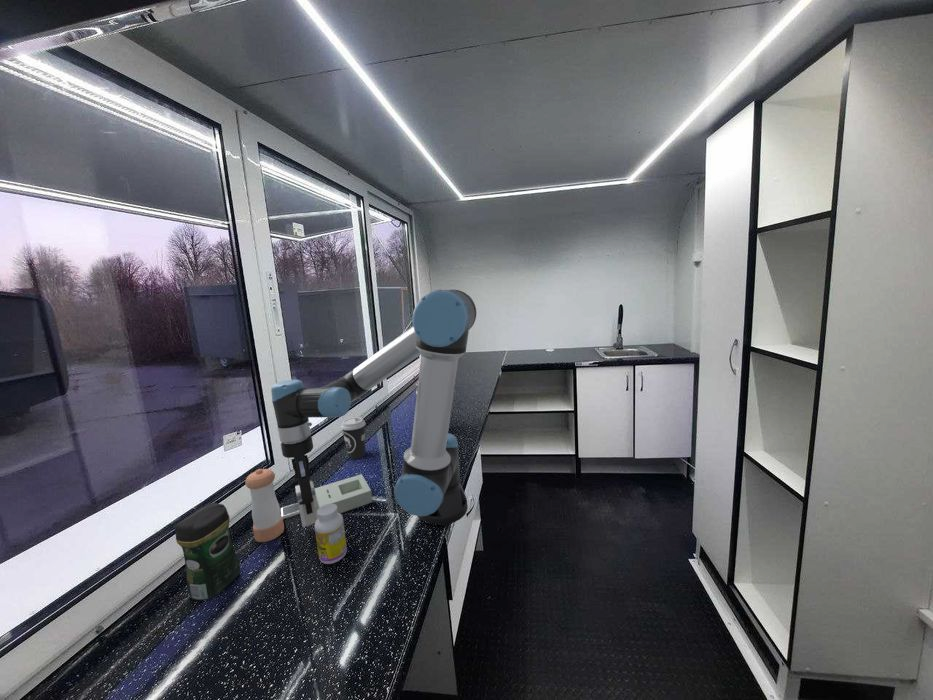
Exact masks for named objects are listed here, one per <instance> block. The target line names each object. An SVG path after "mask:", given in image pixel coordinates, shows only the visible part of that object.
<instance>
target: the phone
mask: <svg viewBox="0 0 933 700" xmlns="http://www.w3.org/2000/svg"><path fill="white" fill-rule="evenodd" d="M280 515H281V516H282V517H283V520H285V519H289V518H292V517H294V516H298V515H300V510H299V505H298V502H295V503H292V504H290V505H286V506H283V507H281V508H280Z"/></svg>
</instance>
